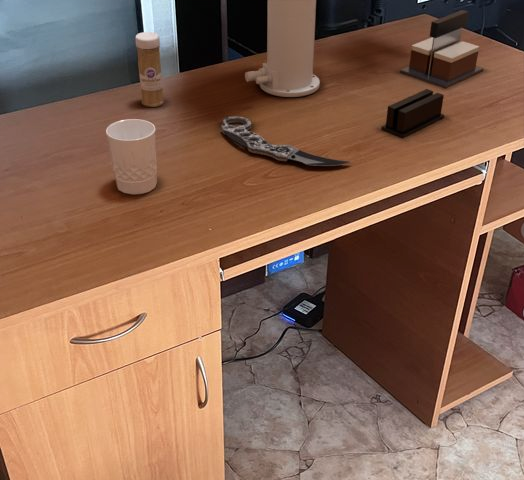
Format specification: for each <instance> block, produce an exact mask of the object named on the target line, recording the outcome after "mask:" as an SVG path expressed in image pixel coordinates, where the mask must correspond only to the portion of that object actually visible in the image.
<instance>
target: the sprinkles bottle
mask: <svg viewBox="0 0 524 480" xmlns="http://www.w3.org/2000/svg"><path fill="white" fill-rule="evenodd" d="M160 45H161V41H160V35H159V33H156V32H153V31H142V32H139V33H137V34H136V35H135V46H136V50H137V66H138V75H139V84H140V93H141V104H142V105H143V106H145V107H149V108H155V107H156V108H157V107H160V106H162V105H164V103H165V99H164V92H163V74H162V73H163V72H162V61H161V52H160V47H161V46H160Z"/></svg>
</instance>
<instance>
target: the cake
mask: <svg viewBox="0 0 524 480" xmlns="http://www.w3.org/2000/svg"><path fill="white" fill-rule="evenodd" d="M432 43H433V37H430V38H426V39H424V40H422V41H419V42H416V43H413V44H412V45H411V50H410V57H409V65H408V66H406V67H404V68H401V69H400V71H399V72H400V73H401V74H404V75H407V76H409V77H411V78H415V79H418V80H421V81H423V82H426V83H429V84H432V85H434V86H438V87H441V88H443V89H447V88H449V87H451V86H453V85H456V84H458V83H460V82H462V81H464V80H466V79H468V78H471V77H473V76H474V75H477V74H479V73H482V72H484V67H481V66H478V65H477V62H478V56H479V50H480V45H476V44H473V43H469V42H467V41H463V40H460V42H459V43H456V44H454V45H451V46H449V47H447V48H444V49H442V50H439V51H437V52H435V53H434V59H433V65H432V72H431V74H430V75H428V71H429V64H430V57H431V50H432Z"/></svg>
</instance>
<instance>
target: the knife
mask: <svg viewBox="0 0 524 480" xmlns="http://www.w3.org/2000/svg"><path fill="white" fill-rule="evenodd" d="M235 123H238V124H243V125H232V124H235ZM251 128H252V122H251V120H250V119H248V118H247V117H244V116H236V115H234V116H226V117H224V118H222V124H221V126H220V130H221V132H222V134H223V135H226V137H228V138H229V139H230V140H231V141H233V142H234V143H236V144H238V145H239V146H241V147H243V148H245V149H247V151H248V152H250V153H252V154H258V155H262V156H263V155H264V156H267V157H270V158H273V159H274V160H277V161H281V162H288V160H291V162H295V161H296V162H299V163H302V164H304V165H306V166H314V167H315V166H316V167H317V166H318V167H335V166H343V165H349V164H352V161H349V160H340V159H334V158H329V157H324V156H321V155H316V154H312V153H309V152H306V151H303V150H302V149H298V148H297V147H294V146H293V145H290V144H272V143H270V142H268V141H266V139H265V138H264V137H263V136H261V135H260V134H258V133H256V132H253V131H249V130H250V129H251Z"/></svg>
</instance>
